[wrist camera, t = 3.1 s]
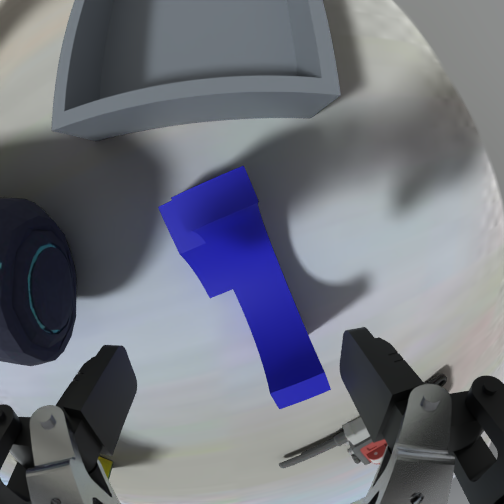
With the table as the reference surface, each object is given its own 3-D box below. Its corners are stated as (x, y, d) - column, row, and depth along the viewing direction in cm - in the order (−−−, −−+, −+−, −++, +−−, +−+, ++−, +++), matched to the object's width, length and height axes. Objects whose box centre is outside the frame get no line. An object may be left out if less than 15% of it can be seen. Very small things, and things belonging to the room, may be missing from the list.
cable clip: (171, 202, 16) (138, 214, 10) (239, 172, 16) (243, 165, 10) (247, 357, 19) (253, 417, 13) (305, 334, 19) (330, 389, 13)
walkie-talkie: (437, 356, 21) (273, 453, 23) (460, 379, 17) (278, 484, 19) (442, 395, 23) (306, 475, 25) (459, 415, 19) (312, 500, 21)
